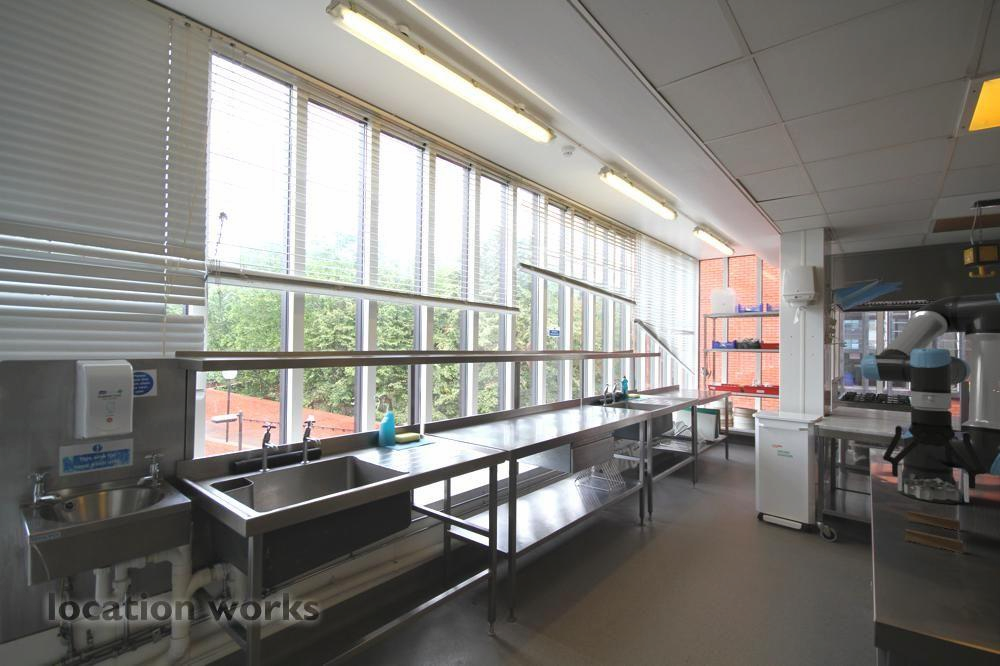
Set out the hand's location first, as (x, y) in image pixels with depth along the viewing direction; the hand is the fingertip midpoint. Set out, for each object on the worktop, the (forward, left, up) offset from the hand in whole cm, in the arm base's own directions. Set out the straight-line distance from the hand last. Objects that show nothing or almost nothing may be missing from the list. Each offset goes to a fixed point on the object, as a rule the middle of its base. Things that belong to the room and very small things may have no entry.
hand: (932, 495), depth 115 cm
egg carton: (0, -1, -1) cm, 1 cm away
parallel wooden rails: (0, 0, -10) cm, 10 cm away
